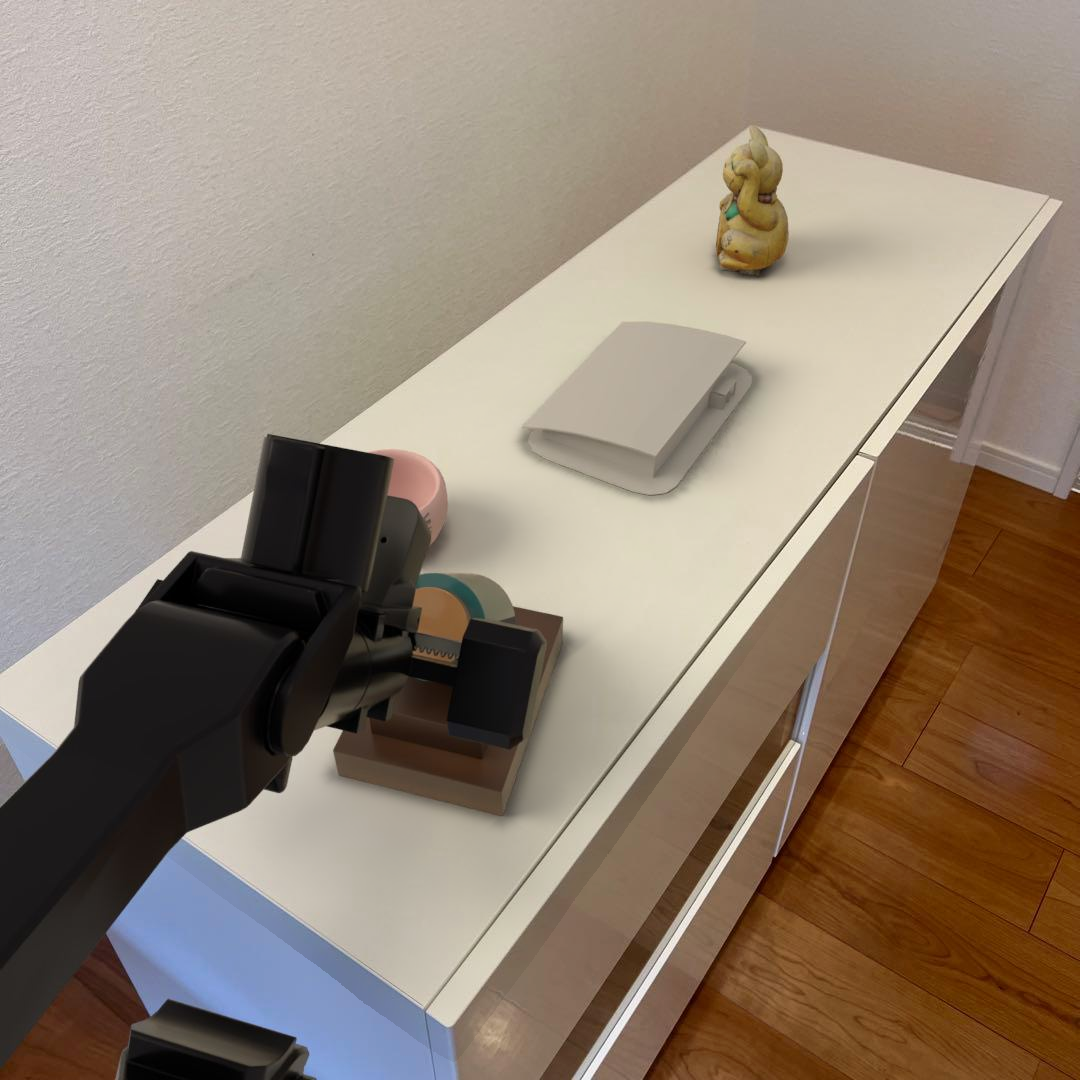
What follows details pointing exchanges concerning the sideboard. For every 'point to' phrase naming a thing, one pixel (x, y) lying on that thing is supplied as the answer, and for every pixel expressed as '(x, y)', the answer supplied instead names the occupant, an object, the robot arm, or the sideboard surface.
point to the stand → (442, 741)
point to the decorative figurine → (752, 209)
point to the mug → (418, 486)
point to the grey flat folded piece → (642, 405)
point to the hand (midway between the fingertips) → (414, 642)
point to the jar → (458, 605)
